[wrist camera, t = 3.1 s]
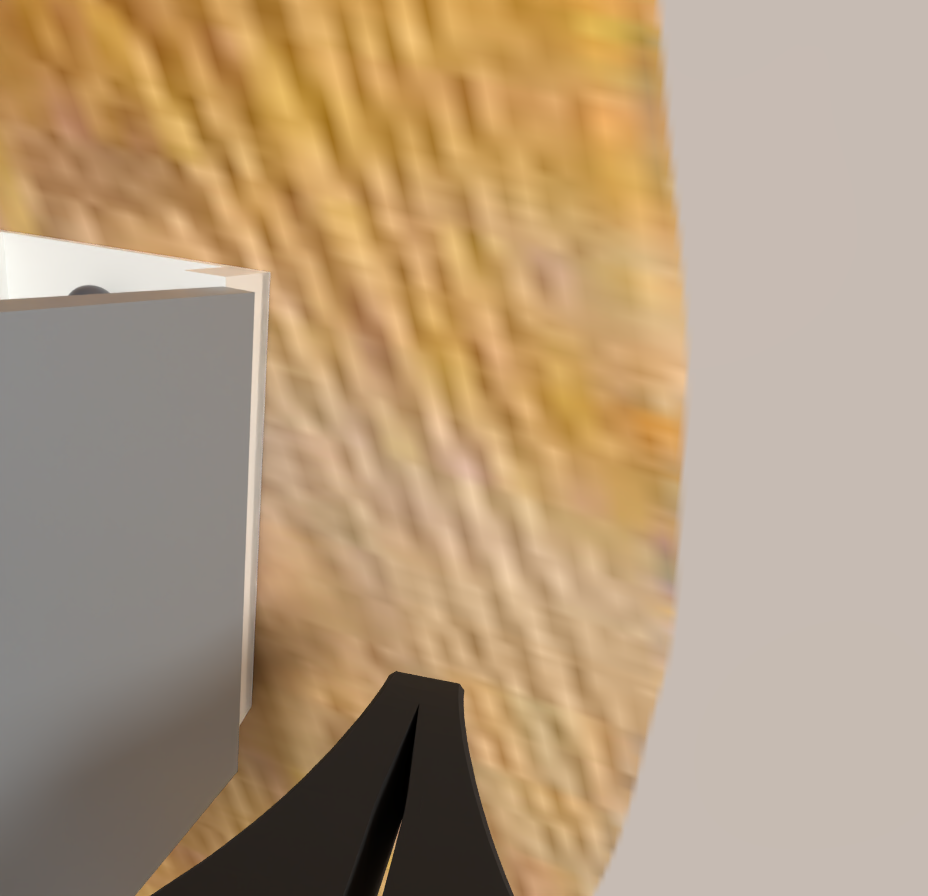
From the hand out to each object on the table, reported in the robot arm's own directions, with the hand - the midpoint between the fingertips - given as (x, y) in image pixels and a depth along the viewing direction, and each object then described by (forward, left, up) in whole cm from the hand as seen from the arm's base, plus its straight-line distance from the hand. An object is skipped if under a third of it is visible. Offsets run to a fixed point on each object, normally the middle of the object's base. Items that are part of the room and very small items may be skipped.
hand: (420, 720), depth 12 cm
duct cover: (0, +7, 0) cm, 7 cm away
